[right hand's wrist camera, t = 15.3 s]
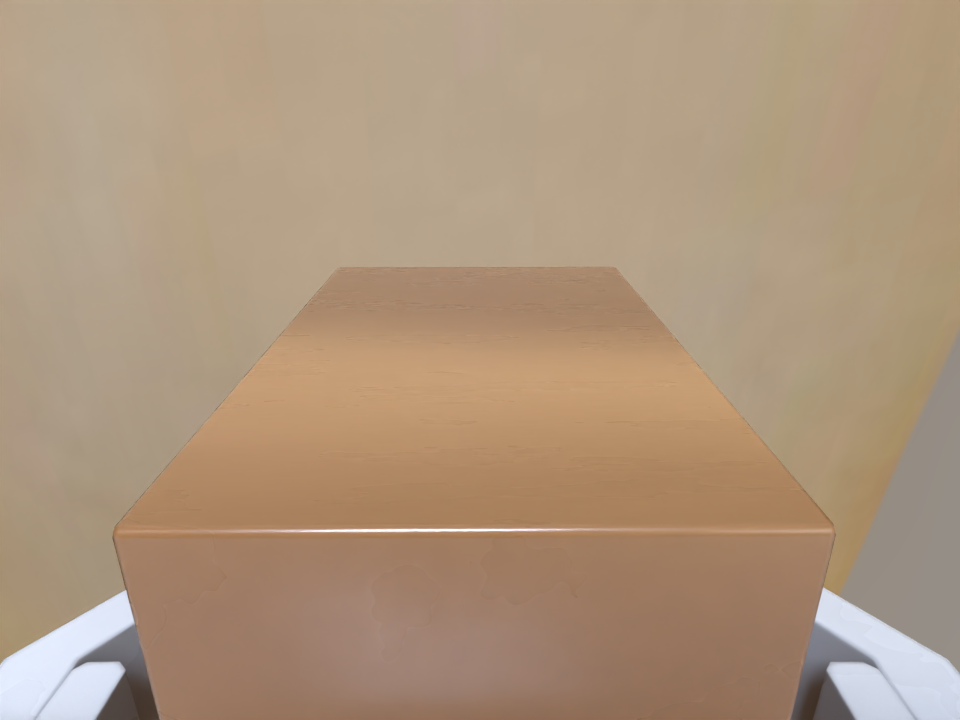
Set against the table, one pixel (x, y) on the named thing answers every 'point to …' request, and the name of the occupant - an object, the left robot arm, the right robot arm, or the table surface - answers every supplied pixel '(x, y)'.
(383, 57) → the table surface
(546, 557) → the bar
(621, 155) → the table surface
